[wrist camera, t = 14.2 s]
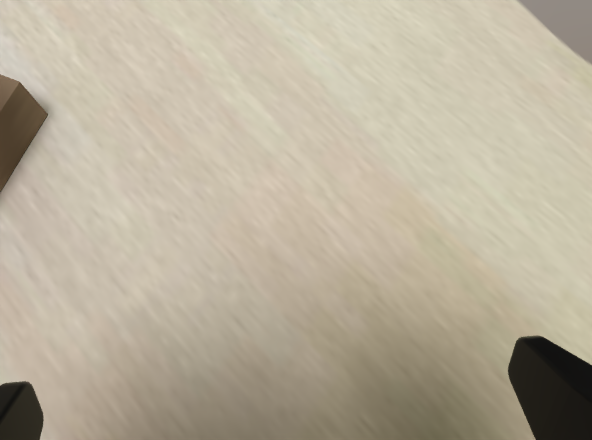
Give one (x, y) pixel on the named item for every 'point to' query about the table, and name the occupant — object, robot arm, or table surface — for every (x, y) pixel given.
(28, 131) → the holder block
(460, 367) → the table surface
